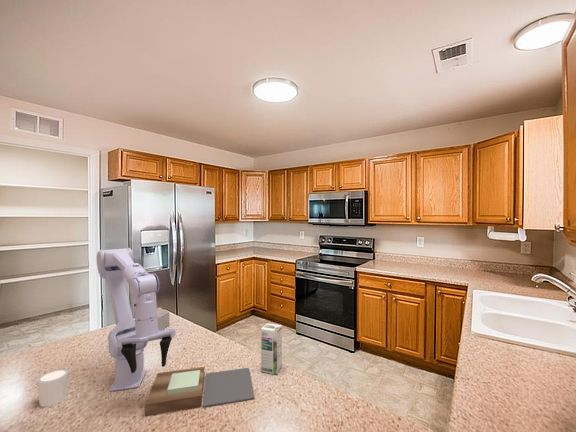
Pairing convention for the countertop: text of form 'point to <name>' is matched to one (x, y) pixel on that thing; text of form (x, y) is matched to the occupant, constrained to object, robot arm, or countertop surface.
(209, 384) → the rubber mat
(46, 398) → the white cylinder
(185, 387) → the coaster
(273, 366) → the syrup box
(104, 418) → the countertop surface
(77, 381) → the countertop surface
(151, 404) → the walnut board
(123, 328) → the robot arm
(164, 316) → the lumpy-topped squat cylinder
